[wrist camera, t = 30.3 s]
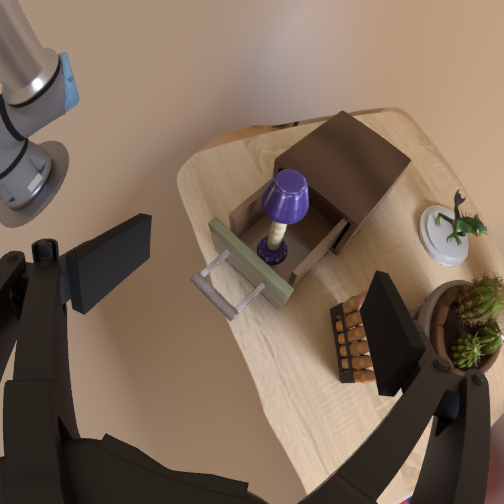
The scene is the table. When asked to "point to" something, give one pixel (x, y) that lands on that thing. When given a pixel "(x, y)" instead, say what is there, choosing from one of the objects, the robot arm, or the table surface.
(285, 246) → the toy lamp
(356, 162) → the cabinet
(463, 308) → the flowerpot
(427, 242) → the monster figurine
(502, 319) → the dixie cup
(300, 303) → the table surface
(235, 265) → the drawer
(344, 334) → the ammunition clip
